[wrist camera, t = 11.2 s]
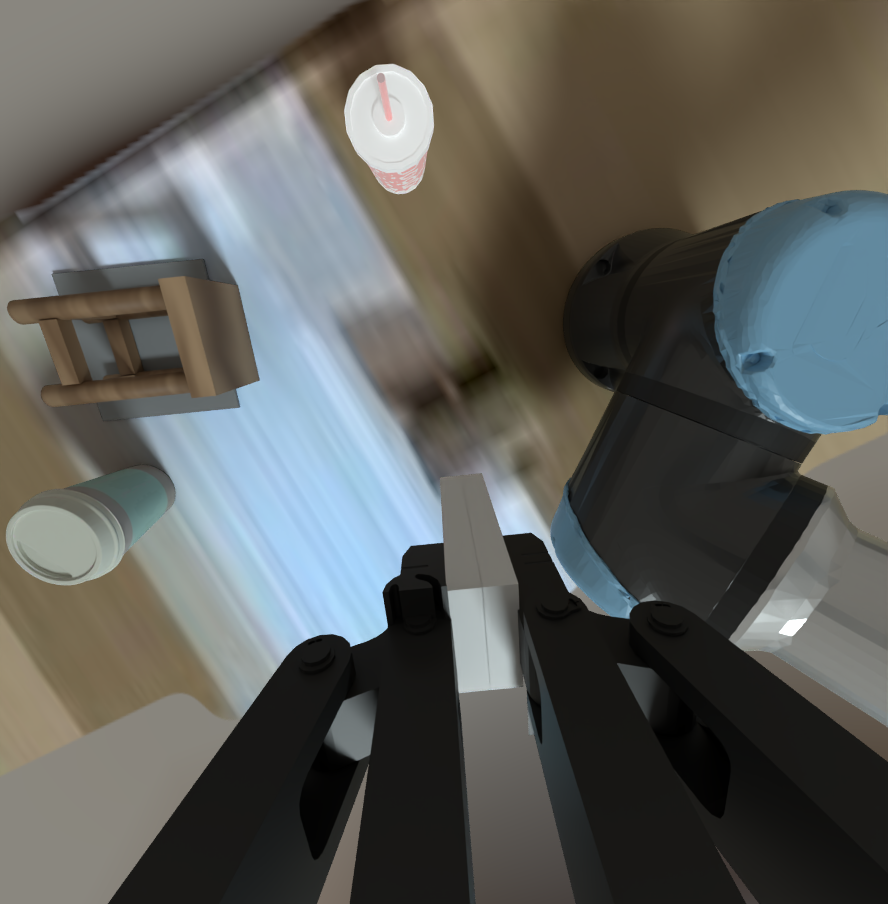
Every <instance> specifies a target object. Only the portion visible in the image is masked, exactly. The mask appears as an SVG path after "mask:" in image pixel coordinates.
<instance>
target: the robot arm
mask: <svg viewBox="0 0 888 904" xmlns="http://www.w3.org/2000/svg"><path fill="white" fill-rule="evenodd" d="M563 331H564V338H565V343H566V347H567V350H568V352H569V355H570V357H571V359H572V361H573V362H574V364H575V365H576V367H577V368H578V369H579V371H580V372H581V373H582V374H583V375H584V376H585V377H586V378H587V379H589V380H590V381H591V382H593V383H594V384H596V385H598V386H600V387H602V388H605V389H607V390H610V391H612V392H614V394H613V396H612V398H611V400H610V402H609V404H608V406H607V408H606V410H605V412H604V414H603V416H602V418H601V420H600V422H599V424H598V426H597V428H596V430H595V432H594V434H593V436H592V439H591V441H590V443H589V445H588V447H587V449H586V451H585V452H584V454H583V456H582V458H581V460H580V462H579V464H578V466H577V468H576V470H575V472H574V474H573V475H572V477H571V478H570V479H569V480H568V481H567V483H566V485H565V487H564V492H563V497H562V500H561V502H560V504H559V507H558V509H557V511H556V514H555V516H554V518H553V521H552V524H551V540H552V544H553V547H554V549H555V553H556V556H557V558H558V560H559V561H560V563H561V565H562V566H563V568H564V569H565V571H566V572H567V574H568V575H569V576H570V578H571V579H572V580H573V581H574V582H575V584H576V585H577V586H578V587H579V588H580V589H581V590H582V591H583V592H584V593H585V594H586V595H587V596H588V597H589V598H590V599H591V600H592V601H593V602H594V603H595V604H597V605H598V606H599V607H600V608H601V609H603V610H604V611H605V612H607V614H609V615H610V616H605V615H601V614H597V613H594V612H591V611H589V610H588V609H587V607H586V605H585V604H584V603H583V602H582V600H581V599H580V598H578V597H576V596H575V595H573V594H571V593H569V592H568V590H567V588H566V586H565V584H564V582H563V580H562V578H561V576H560V574H559V572H558V570H557V568H556V566H555V564H554V562H552V559H551V557H550V555H549V554H548V551H547V549H546V547H545V545H544V543H543V541H542V540H540V539H539V538H538V537H536V536H535V535H533V534H532V533H525V534H515V535H505V536H502V533H501V530H500V527H499V524H498V521H497V518H496V515H495V512H494V509H493V506H492V503H491V500H490V497H489V494H488V490H487V487H486V484H485V481H484V478H483V475H482V473H480V474H470V475H460V476H450V477H440V486H441V504H442V522H443V540H444V543H437V544H427V545H416V546H411V547H410V548H409V549H408V550H407V551H406V553H405V554H404V555H403V557H402V565H401V574H400V575H399V576H397V577H395V578H393V579H392V580H391V581H390V582H389V583H388V584H386V586H385V588H384V590H383V598H384V605H385V611H386V617H387V623H388V628H387V629H386V630H385V631H384V632H383V633H382V634H380V635H379V636H377V637H376V638H373V639H371V640H369V641H366V642H364V643H361V644H358V645H355V646H352V647H350V643H349V642H348V641H347V640H346V639H345V638H343V637H341V636H337V635H333V634H330V635H319V636H316V637H313V638H310V639H308V640H306V641H304V642H303V643H301V644H299V645H298V646H296V647H295V648H294V649H293V650H292V651H291V652H290V653H289V654H288V655H287V656H286V658H285V659H284V661H283V662H282V663H281V665H280V666H279V668H278V669H277V670H276V672H275V673H274V674H273V676H272V677H271V679H270V680H269V681H268V683H267V684H266V686H265V687H264V688H263V690H262V691H261V692H260V694H259V695H258V697H257V698H256V699H255V701H254V702H253V704H252V705H251V706H250V708H249V709H248V710H247V712H246V713H245V715H244V716H243V717H242V719H241V720H240V722H239V723H238V724H237V726H236V727H235V728H234V730H233V731H232V733H231V734H230V735H229V737H228V738H227V740H226V741H225V742H224V744H223V745H222V747H221V748H220V749H219V751H218V752H217V753H216V755H215V756H214V758H213V759H212V760H211V762H210V763H209V764H208V766H207V767H206V769H205V770H204V772H203V773H202V774H201V776H200V777H199V778H198V780H197V781H196V783H195V784H194V785H193V787H192V788H191V789H190V791H189V792H188V794H187V795H186V796H185V798H184V799H183V800H182V802H181V803H180V805H179V806H178V807H177V809H176V810H175V812H174V813H173V814H172V816H171V817H170V818H169V820H168V821H167V823H166V824H165V825H164V827H163V828H162V830H161V831H160V832H159V834H158V835H157V836H156V838H155V839H154V841H153V842H152V843H151V845H150V846H149V848H148V849H147V850H146V852H145V853H144V854H143V856H142V857H141V859H140V860H139V861H138V863H137V864H136V866H135V867H134V868H133V870H132V871H131V872H130V874H129V875H128V877H127V878H126V879H125V881H124V882H123V884H122V885H121V886H120V888H119V889H118V890H117V892H116V893H115V895H114V896H113V897H112V899H111V900H110V902H109V903H108V904H317V902H318V899H319V896H320V894H321V891H322V888H323V886H324V883H325V880H326V877H327V875H328V872H329V870H330V867H331V864H332V861H333V859H334V856H335V853H336V851H337V848H338V845H339V842H340V840H341V837H342V835H343V832H344V829H345V826H346V823H347V821H348V818H349V816H350V813H351V810H352V808H353V805H354V802H355V799H356V797H357V794H358V791H359V789H360V786H361V783H362V781H363V778H364V775H365V772H366V770H367V767H368V764H369V767H368V774H367V782H366V789H365V796H364V804H363V811H362V818H361V825H360V832H359V840H358V847H357V854H356V862H355V869H354V876H353V883H352V892H351V898H350V904H476V902H475V889H474V877H473V864H472V852H471V839H470V825H469V812H468V801H467V788H466V774H465V762H464V749H463V736H462V723H461V712H460V702H459V693H464V692H474V691H483V690H494V689H505V688H515V687H523V676H524V679H525V684H526V687H527V704H528V727H529V735H533V734H534V736H535V740H536V744H537V748H538V752H539V756H540V760H541V764H542V768H543V773H544V777H545V780H546V785H547V789H548V792H549V797H550V801H551V805H552V809H553V813H554V818H555V822H556V826H557V829H558V834H559V838H560V842H561V846H562V850H563V854H564V858H565V862H566V866H567V870H568V874H569V878H570V883H571V887H572V890H573V895H574V899H575V903H576V904H746V903H745V901H744V899H743V897H742V896H741V893H740V891H739V890H738V888H737V886H736V884H735V882H734V880H733V878H732V877H731V875H730V873H729V871H728V869H727V868H726V865H725V863H724V862H723V860H722V858H721V856H720V854H719V852H718V850H719V851H720V853H721V854H722V855H723V857H724V858H725V859H726V860H727V862H728V863H729V864H730V866H731V867H732V868H733V870H734V871H735V872H736V874H737V875H738V876H739V878H740V879H741V880H742V882H743V883H744V884H745V885H746V887H747V888H748V890H749V891H750V892H751V893H752V895H753V896H754V897H755V899H756V900H757V901H758V903H759V904H888V762H887V761H886V760H885V759H883V758H882V757H880V756H879V755H878V754H877V753H875V752H874V751H873V750H871V749H870V748H869V747H868V746H866V745H865V744H864V743H862V742H861V741H860V740H859V739H857V738H856V737H855V736H853V735H852V734H851V733H849V732H848V731H847V730H845V729H844V728H843V727H842V726H840V725H839V724H838V723H836V722H835V721H833V719H831V718H830V717H829V716H827V715H826V714H825V713H823V712H822V711H821V710H820V709H818V708H817V707H816V706H814V705H813V704H812V703H810V702H809V701H808V700H806V699H805V698H804V697H802V696H801V695H800V694H799V693H797V692H796V691H794V690H793V689H792V688H791V687H789V686H788V685H787V684H786V683H784V682H783V681H782V680H780V679H779V678H778V677H777V676H775V675H774V674H772V673H771V672H770V671H769V670H767V669H766V668H765V667H763V666H762V665H761V664H759V663H758V662H757V661H756V660H754V659H753V658H752V657H750V656H749V655H748V654H746V653H745V652H744V651H754V650H761V651H766V652H771V653H773V654H774V655H776V656H778V657H779V658H781V659H782V660H784V661H785V662H787V663H789V664H790V665H792V666H793V667H795V668H796V669H798V670H800V671H801V672H803V673H804V674H806V675H807V676H809V677H810V678H812V679H814V680H815V681H817V682H818V683H820V684H821V685H823V686H825V687H826V688H828V689H829V690H831V691H832V692H834V693H835V694H837V695H839V696H840V697H842V698H844V699H845V700H847V701H848V702H850V703H851V704H853V705H855V706H856V707H857V708H859V709H861V710H862V711H864V712H865V713H867V714H869V715H870V716H871V717H873V718H875V719H876V720H878V721H879V722H881V723H882V724H884V725H886V726H887V727H888V542H887V541H884V540H882V539H880V538H878V537H875V536H873V535H871V534H869V533H866V532H864V531H862V530H860V529H859V528H857V527H856V526H855V525H853V524H852V523H851V522H850V521H849V519H848V516H847V514H846V512H845V510H844V508H843V506H842V504H841V502H840V499H839V498H838V495H837V493H836V491H835V489H834V488H832V487H830V486H827V485H824V484H822V483H820V482H817V481H815V480H812V479H810V478H808V477H805V476H803V475H801V474H799V472H798V470H799V468H800V466H801V464H799V463H803V461H804V460H805V458H806V457H807V455H808V454H809V452H810V451H811V449H812V448H813V446H814V445H815V443H816V442H817V440H818V439H819V437H820V436H821V434H830V433H837V432H845V431H852V430H856V429H860V428H864V427H867V426H869V425H871V424H873V423H875V422H876V421H877V417H878V415H888V194H885V193H881V192H874V191H865V190H850V191H841V192H835V193H830V194H826V195H821V196H816V197H812V198H807V199H803V200H799V199H796V200H790V201H785V202H782V203H777V204H775V205H773V206H771V207H767V208H766V209H765V210H763V211H760V212H757V213H754V214H752V215H749V216H746V217H743V218H740V219H737V220H734V221H732V222H729V223H726V224H723V225H720V226H717V227H714V228H712V229H709V230H706V231H703V232H700V233H697V234H694V235H693V234H690V233H687V232H684V231H680V230H676V229H669V228H655V229H647V230H642V231H638V232H635V233H632V234H629V235H627V236H625V237H622V238H620V239H618V240H616V241H614V242H612V243H610V244H608V245H607V246H605V247H604V248H602V249H601V250H600V251H598V252H597V253H596V254H595V255H594V256H593V257H592V258H591V259H590V260H589V261H588V262H587V263H586V264H585V265H584V267H583V268H582V269H581V271H580V272H579V274H578V275H577V277H576V279H575V280H574V282H573V284H572V287H571V289H570V291H569V294H568V297H567V300H566V304H565V309H564V317H563ZM630 396H631V397H630ZM640 400H641V401H640ZM792 460H793V461H792ZM795 461H796V462H795ZM797 462H799V463H797ZM715 846H716V847H717V849H718V850H717V849H716V847H715Z"/></svg>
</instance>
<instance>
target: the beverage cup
mask: <svg viewBox="0 0 888 904" xmlns="http://www.w3.org/2000/svg"><path fill="white" fill-rule="evenodd" d="M344 113H345V122H346V131H347V134H348V136H349V138H350V140H351V142H352V144H353V146H354V148H355V151H356V152H357V154H358V155H359V156H360V157H361V158H362V159H363V160H364V161H365V162H366V163H367V164H368V165H369V167H370V169H371V170H372V172H373V174H374V175H375V177H376V179H377V180H378V182H379V183H380V184H381V185H382V186H383V187H384V188H385V189H386V190H387V191H390V192H393V193H395V194H404V193H408V192H410V191H411V190H413V189H415V188H416V187H417V185H418V184H419V183H420V181H421V180H422V177H423V173H424V170H425V163H426V155H427V150H428V148H429V144H430V141H431V137H432V134H433V129H434V122H433V105H432V103H431V100H430V98H429V96H428V93H427V91H426V88H425V86H424V85H423V84H422V83H421V82H420V81H419V80H418V78H417V77H416V76H415V75H414V74H413V73H412V72H411V71H409V70H407V69H404V68H402V67H400V66H397V65H395V64H384V65H375V66H373V67H372V68H370V69H368V70H367V71H365V72H363V73H362V74H360V75H359V76H358V78H357V79H356V81H355V82H354V84H353V85H352V87H351V88H350V90H349V92H348V96H347V101H346V105H345V110H344Z"/></svg>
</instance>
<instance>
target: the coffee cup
mask: <svg viewBox="0 0 888 904" xmlns="http://www.w3.org/2000/svg"><path fill="white" fill-rule="evenodd" d="M174 501H175V488H174V485H173V483H172V481H171V480H170V478H169V477H168V476H167V475H166V474H165V473H164V472H162V471H161V470H159V469H157V468H155V467H152V466H148V465H137V466H133V467H130V468H127V469H123V470H120V471H117V472H114V473H111V474H108V475H105V476H101V477H98V478H95V479H92V480H89V481H86V482H83V483H79V484H76V485H73V486H70V487H67V488H64V489H53V490H48V491H44V492H41V493H39V494H37V495H35V496H34V497H33V498H31V499H30V500H28V501H27V502H26V503H24V504H23V505H22V506H21V508H20V509H19V511H18V512H17V513H16V514H15V515H14V516H13V517H12V518H11V519H10V521H9V523H8V525H7V529H6V542H7V545H8V548H9V551H10V553H11V555H12V556H13V558H14V559H15V560H16V562H17V563H18V564H19V565H20V566H21V567H22V568H23V569H24V570H25V571H27V572H28V573H29V574H31V575H33V576H34V577H36V578H38V579H40V580H43V581H45V582H48V583H52V584H57V585H74V584H79V583H82V582H84V581H88V580H92V579H95V578H98V577H100V576H102V575H104V574H106V573H108V572H110V571H111V570H113V569H114V568H115V567H116V566H117V565H118V564H119V562H120V561H121V559H122V557H123V554H124V553H125V552H126V551H127V550H128V549H129V548H130V547H131V546H132V545H133V544H134V543H135V542H136V541H137V540H138V539H139V538H140V537H141V536H142V535H143V534H144V533H145V532H146V531H147V530H148V529H149V528H150V527H151V526H152V525H153V524H154V523H155V522H156V521H157V520H158V519H159V518H160V517H161V516H162V515H163V514H164V513H165V512H166V511H167V510H168V509H169V508H170V507H171V506H172V505H173V503H174Z"/></svg>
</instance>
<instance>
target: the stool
mask: <svg viewBox="0 0 888 904" xmlns="http://www.w3.org/2000/svg"><path fill="white" fill-rule="evenodd" d="M158 281H159V285H157V286H148V287H138V288H128V289H119V290H109V291H99V292H90V293H80V294H70V295H61V296H51V297H41V298H31V299H22V300H13V301H10V302H9V303H8V306H7V310H8V313H9V315H10V316H11V318H12V319H13V320H14V321H16V322H17V323H19V324H23V325H24V324H34V323H39V324H40V327H41V330H42V332H43V335H44V338H45V340H46V343H47V346H48V348H49V351H50V354H51V356H52V359H53V362H54V364H55V367H56V370H57V372H58V375H59V378H60V380H61V383H62V384H55V385H47V386H44V387H43V388H42V390H41V397H42V399H43V401H44V402H45V403H46V404H47V405H48V406H51V407H59V406H69V405H78V404H88V403H98V402H108V401H117V400H127V399H137V398H146V397H156V396H166V395H176V394H185V393H190V394H191V398H198V397H208V396H217V395H220V394H222V393H225V392H228V391H231V390H234V389H237V388H239V387H242V386H245V385H248V384H251V383H254V382H256V381H259V375H258V371H257V367H256V362H255V358H254V354H253V349H252V345H251V341H250V336H249V332H248V328H247V323H246V319H245V315H244V310H243V306H242V302H241V297H240V293H239V289H238V285H232V284H226V283H221V282H215V281H210V280H204V279H198V278H193V277H187V276H180V277H170V278H161V279H158ZM160 316H169V320H170V324H171V327H172V331H173V334H174V338H175V341H176V345H177V348H178V352H179V355H180V359H181V362H182V366H183V367H181V368H172V369H162V370H152V371H144V369H143V366H142V363H141V359H140V356H139V353H138V350H137V347H136V343H135V340H134V337H133V334H132V331H131V327H130V324H129V321H128V320H131V319H141V318H150V317H160ZM72 320H82V321H84V322H85V323H87V324H92V323H102V322H103V324H104V327H105V330H106V333H107V336H108V339H109V342H110V345H111V348H112V352H113V355H114V358H115V361H116V364H117V367H118V370H119V373H120V374H114V375H106V376H104V377H103V380H94V381H93V380H92V377H91V374H90V371H89V368H88V366H87V363H86V360H85V357H84V354H83V351H82V349H81V346H80V343H79V340H78V337H77V334H76V331H75V329H74V326H73V323H72Z"/></svg>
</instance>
